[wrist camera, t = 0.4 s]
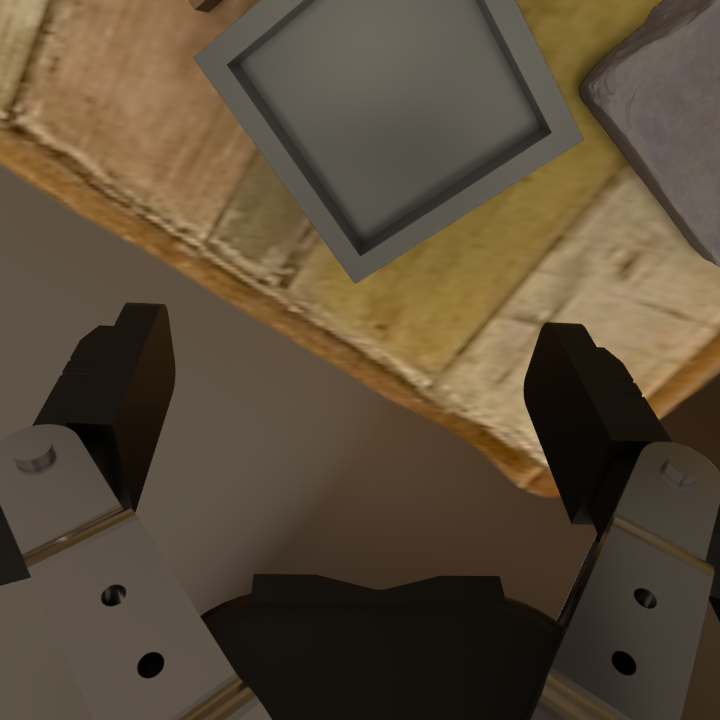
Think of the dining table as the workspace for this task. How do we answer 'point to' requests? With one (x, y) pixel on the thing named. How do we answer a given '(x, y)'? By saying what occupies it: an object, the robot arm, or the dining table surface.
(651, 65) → the stone block
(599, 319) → the dining table surface
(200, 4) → the bracket
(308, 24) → the tray
